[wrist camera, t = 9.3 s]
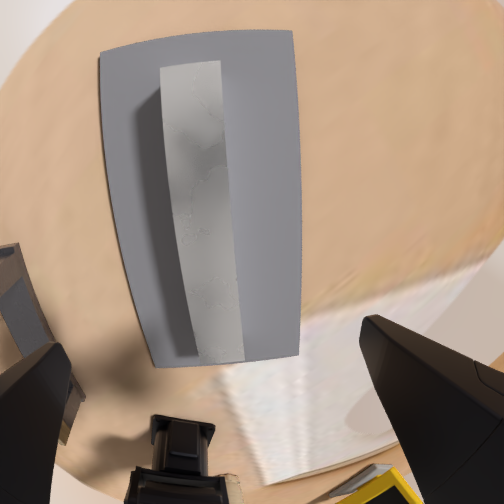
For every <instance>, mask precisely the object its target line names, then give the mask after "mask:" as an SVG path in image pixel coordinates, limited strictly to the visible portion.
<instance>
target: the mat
mask: <svg viewBox="0 0 504 504" xmlns="http://www.w3.org/2000/svg"><path fill="white" fill-rule="evenodd" d="M218 60H220V62H221V79H222V95H223V111H224V126H225V140H226V154H227V167H228V180H229V193H230V206H231V218H232V230H233V241H234V253H235V264H236V275H237V285H238V296H239V306H240V317H241V327H242V336H243V346H244V356H245V361H237V362H227V363H215V364H201V363H200V359H199V354H198V350H197V346H196V341H195V337H194V332H193V327H192V323H191V318H190V313H189V308H188V303H187V298H186V293H185V287H184V282H183V276H182V271H181V265H180V259H179V253H178V247H177V241H176V234H175V227H174V220H173V213H172V206H171V198H170V190H169V182H168V173H167V164H166V154H165V144H164V132H163V119H162V104H161V87H160V68H161V67H167V66H174V65H181V64H189V63H197V62H207V61H218ZM100 94H101V114H102V128H103V140H104V150H105V159H106V167H107V174H108V181H109V188H110V195H111V201H112V207H113V212H114V218H115V223H116V228H117V233H118V238H119V243H120V247H121V252H122V256H123V260H124V265H125V269H126V273H127V277H128V281H129V284H130V288H131V292H132V295H133V299H134V303H135V306H136V310H137V313H138V316H139V320H140V323H141V326H142V329H143V332H144V335H145V338H146V341H147V344H148V347H149V350H150V353H151V356H152V359H153V362H154V364H155V367H156V368H176V367H196V366H210V365H223V364H234V363H244V362H253V361H261V360H269V359H277V358H284V357H291V356H297V355H299V340H300V316H301V279H302V190H301V154H300V130H299V111H298V94H297V80H296V67H295V55H294V43H293V33H292V31H289V30H229V31H214V32H203V33H193V34H185V35H178V36H171V37H165V38H159V39H154V40H149V41H144V42H139V43H135V44H130V45H126V46H122V47H118V48H114V49H111V50H107V51H103V52H100Z"/></svg>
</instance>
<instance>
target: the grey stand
mask: <svg viewBox="0 0 504 504" xmlns="http://www.w3.org/2000/svg"><path fill="white" fill-rule="evenodd" d="M0 311H1V313H2V315H3V318H4V320H5V322H6V324H7V326H8V328H9V330H10V332H11V334H12V336H13V338H14V340H15V342H16V344H17V346H18V348H19V350H20V352H21V353H22V355H23V357H24V358H25V357H27V356H28V355H30V354H31V353H33V352H34V351H36V350H37V349H39V348H40V347H41V346H43V345H44V344H46V343H48V342H56V341H55V339H54V337H53V335H52V333H51V330H50V328H49V326H48V324H47V321H46V319H45V317H44V314H43V312H42V310H41V307H40V305H39V302H38V300H37V297H36V294H35V292H34V289H33V286H32V284H31V281H30V278H29V275H28V272H27V269H26V266H25V263H24V259H23V256H22V253H21V249H20V246H19V243H14V244H8V245H3V246H0ZM85 398H86V396H85V394H84V392H83V391H82V389H81V387H80V386H79V384H78V382H77V381H76V379H75V377H74V375H73V374H72V372H71V375H70V380H69V386H68V393H67V399H66V406H65V411H64V416H63V421H62V425H61V430H60V435H59V440H58V443H59V444H60V445H64V446H66V443H67V440H68V437H69V434H70V431H71V428H72V425H73V422H74V419H75V417H76V414H77V411H78V408H79V406H80V403H81V402H84V401H85Z"/></svg>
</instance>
